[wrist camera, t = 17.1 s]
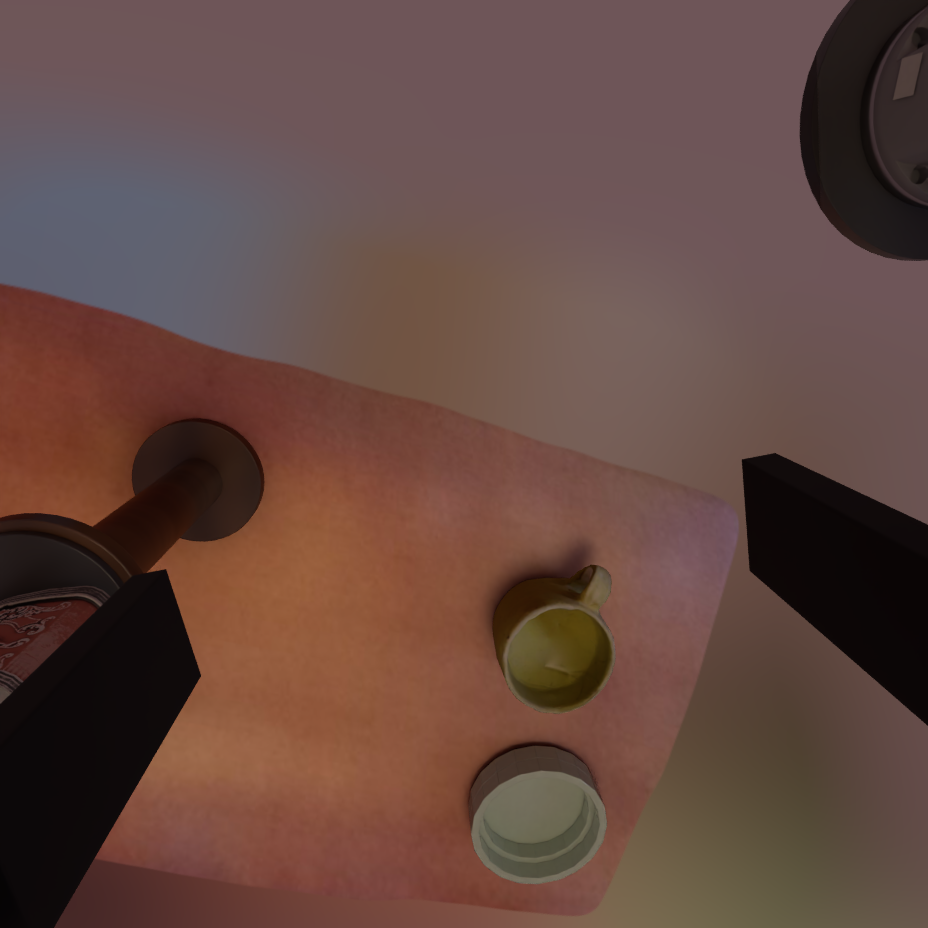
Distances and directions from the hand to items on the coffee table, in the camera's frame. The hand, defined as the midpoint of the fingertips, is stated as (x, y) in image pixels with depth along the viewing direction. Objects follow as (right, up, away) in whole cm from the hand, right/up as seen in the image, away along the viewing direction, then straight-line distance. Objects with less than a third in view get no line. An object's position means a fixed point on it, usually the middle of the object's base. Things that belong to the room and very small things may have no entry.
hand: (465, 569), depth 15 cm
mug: (+8, -10, +44) cm, 46 cm away
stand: (-21, +1, +39) cm, 44 cm away
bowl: (+7, -30, +49) cm, 58 cm away
